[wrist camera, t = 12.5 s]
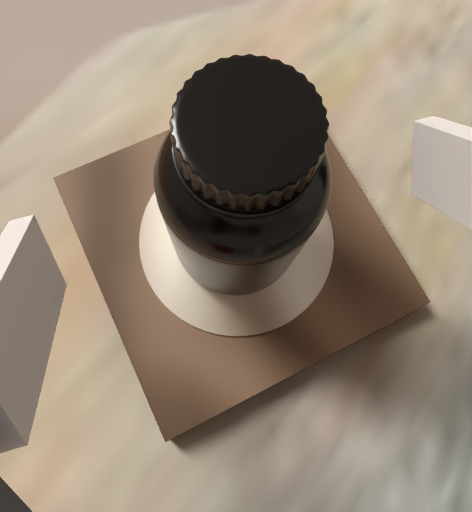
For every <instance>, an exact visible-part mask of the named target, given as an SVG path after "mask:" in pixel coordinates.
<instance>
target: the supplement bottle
mask: <svg viewBox="0 0 472 512" xmlns="http://www.w3.org/2000/svg"><path fill="white" fill-rule="evenodd" d="M326 115H327V110H326V108H325V107H324V106H323V104H322V97H321V96H320V95H319V94H318V93H317V92H316V89H315V86H314V85H313V84H312V83H310V82H309V81H307V78H306V77H305V75H304V74H302V73H299V72H297V71H296V70H295V68H294V67H293V66H290V65H286V64H284V63H282V62H281V61H280V60H276V59H270V58H268V57H266V56H254V55H251V54H248V55H244V56H239V55H233V56H231V57H229V58H220V59H218V60H217V61H216V62H213V63H208V64H206V65H205V66H204V68H203V69H201V70H198V71H196V72H195V73H194V74H193V76H192V78H190V79H188V80H187V81H185V83H184V86H183V89H182V90H180V91H179V92H178V93H177V100H176V102H175V103H174V104H173V106H172V117H171V119H170V130H169V131H168V132H167V134H166V136H165V137H164V139H163V141H162V143H161V145H160V147H159V150H158V153H157V156H156V161H155V165H154V190H155V195H156V199H157V203H158V206H159V209H160V212H161V215H162V218H163V220H164V223H165V225H166V228H167V231H168V233H169V236H170V238H171V241H172V244H173V246H174V249H175V251H176V254H177V256H178V258H179V260H180V262H181V264H182V266H183V267H184V269H185V270H186V272H187V273H188V274H189V275H190V276H191V277H192V278H193V279H194V280H195V281H196V282H198V283H199V284H200V285H202V286H204V287H205V288H207V289H209V290H211V291H214V292H217V293H220V294H225V295H234V296H237V295H247V294H252V293H255V292H258V291H261V290H263V289H265V288H267V287H268V286H270V285H271V284H273V283H274V282H276V281H277V280H278V279H279V278H280V277H281V276H282V275H283V274H284V273H285V271H286V270H287V269H288V268H289V266H290V265H291V263H292V262H293V261H294V259H295V258H296V256H297V255H298V254H299V252H300V251H301V249H302V248H303V247H304V245H305V244H306V242H307V241H308V240H309V238H310V237H311V235H312V234H313V233H314V231H315V230H316V228H317V227H318V225H319V223H320V222H321V220H322V218H323V216H324V213H325V211H326V209H327V206H328V203H329V200H330V195H331V187H332V173H331V166H330V161H329V157H328V154H327V151H326V149H325V147H326V145H327V142H328V133H327V131H328V128H329V122H328V120H327V118H326Z"/></svg>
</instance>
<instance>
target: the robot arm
mask: <svg viewBox="0 0 472 512" xmlns="http://www.w3.org/2000/svg"><path fill="white" fill-rule="evenodd" d="M411 194H413V195H414V196H416V197H417V198H419V199H421V200H422V201H424V202H426V203H427V204H429V205H431V206H432V207H434V208H435V209H437V210H439V211H440V212H442V213H444V214H445V215H447V216H449V217H450V218H452V219H454V220H455V221H457V222H458V223H460V224H462V225H463V226H465V227H467V228H468V229H470V230H472V128H471V127H468V126H465V125H462V124H458V123H455V122H452V121H449V120H445V119H442V118H439V117H436V116H431V117H427V118H423V119H419V120H415V121H413V150H412V180H411ZM65 289H66V283H65V280H64V278H63V276H62V274H61V272H60V270H59V268H58V265H57V263H56V261H55V259H54V257H53V255H52V252H51V250H50V248H49V246H48V244H47V242H46V240H45V237H44V235H43V233H42V231H41V229H40V227H39V224H38V222H37V220H36V218H35V216H34V215H30V216H26V217H22V218H18V219H14V220H10V221H9V222H8V224H7V226H6V227H5V229H4V231H3V232H2V234H1V236H0V453H2V452H6V451H9V450H12V449H16V448H19V447H22V446H26V445H28V441H29V437H30V433H31V428H32V424H33V420H34V416H35V412H36V408H37V404H38V400H39V396H40V392H41V387H42V383H43V379H44V375H45V371H46V367H47V363H48V359H49V355H50V350H51V346H52V342H53V338H54V334H55V330H56V326H57V322H58V318H59V314H60V309H61V305H62V301H63V297H64V293H65ZM0 512H32V511H31V510H30V509H29V508H28V507H27V505H26V504H25V503H24V502H23V501H22V500H21V499H20V498H19V497H18V496H17V495H16V493H15V492H14V491H13V490H12V489H11V488H10V487H9V486H8V485H7V484H6V483H5V482H4V480H3V479H2V478H1V477H0Z"/></svg>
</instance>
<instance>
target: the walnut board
mask: <svg viewBox="0 0 472 512" xmlns="http://www.w3.org/2000/svg"><path fill="white" fill-rule="evenodd" d="M168 131H169V130H167V131H165V132H163V133H160V134H158V135H155V136H153V137H151V138H148V139H146V140H143V141H141V142H138V143H136V144H134V145H131V146H129V147H126V148H124V149H122V150H119V151H117V152H114V153H112V154H109V155H107V156H105V157H102V158H100V159H97V160H95V161H93V162H90V163H88V164H85V165H83V166H81V167H78V168H76V169H73V170H71V171H68V172H66V173H64V174H61V175H59V176H56V177H54V178H53V179H54V181H55V183H56V186H57V188H58V190H59V193H60V195H61V197H62V200H63V202H64V204H65V207H66V209H67V212H68V214H69V216H70V219H71V221H72V223H73V226H74V228H75V230H76V233H77V235H78V237H79V240H80V242H81V245H82V247H83V249H84V252H85V254H86V256H87V259H88V261H89V263H90V266H91V268H92V271H93V273H94V275H95V278H96V280H97V282H98V285H99V287H100V289H101V292H102V294H103V296H104V299H105V301H106V304H107V306H108V308H109V311H110V313H111V315H112V318H113V320H114V322H115V325H116V327H117V329H118V332H119V334H120V337H121V339H122V341H123V344H124V346H125V348H126V351H127V353H128V355H129V358H130V360H131V363H132V365H133V367H134V370H135V372H136V374H137V377H138V379H139V381H140V384H141V386H142V388H143V391H144V393H145V396H146V398H147V400H148V403H149V405H150V407H151V410H152V412H153V414H154V417H155V419H156V421H157V424H158V426H159V429H160V431H161V433H162V436H163V438H164V440H165V442H167V441H169V440H170V439H172V438H174V437H176V436H178V435H180V434H182V433H184V432H186V431H188V430H189V429H191V428H193V427H195V426H197V425H199V424H201V423H203V422H205V421H206V420H208V419H210V418H212V417H214V416H216V415H218V414H220V413H222V412H224V411H225V410H227V409H229V408H231V407H233V406H235V405H237V404H239V403H241V402H242V401H244V400H246V399H248V398H250V397H252V396H254V395H256V394H258V393H259V392H261V391H263V390H265V389H267V388H269V387H271V386H273V385H275V384H277V383H278V382H280V381H282V380H284V379H286V378H288V377H290V376H292V375H294V374H295V373H297V372H299V371H301V370H303V369H305V368H307V367H309V366H311V365H312V364H314V363H316V362H318V361H320V360H322V359H324V358H326V357H328V356H330V355H331V354H333V353H335V352H337V351H339V350H341V349H343V348H345V347H347V346H348V345H350V344H352V343H354V342H356V341H358V340H360V339H362V338H364V337H365V336H367V335H369V334H371V333H373V332H375V331H377V330H379V329H381V328H383V327H384V326H386V325H388V324H390V323H392V322H394V321H396V320H398V319H400V318H401V317H403V316H405V315H407V314H409V313H411V312H413V311H415V310H417V309H418V308H420V307H422V306H424V305H426V304H428V303H430V301H429V299H428V297H427V296H426V294H425V292H424V291H423V289H422V288H421V286H420V284H419V283H418V281H417V279H416V278H415V276H414V275H413V273H412V271H411V270H410V268H409V266H408V265H407V263H406V261H405V260H404V258H403V257H402V255H401V253H400V252H399V250H398V248H397V247H396V245H395V243H394V242H393V240H392V239H391V237H390V235H389V234H388V232H387V230H386V229H385V227H384V226H383V224H382V222H381V221H380V219H379V217H378V216H377V214H376V212H375V211H374V209H373V208H372V206H371V204H370V203H369V201H368V199H367V198H366V196H365V194H364V193H363V191H362V190H361V188H360V186H359V185H358V183H357V181H356V180H355V178H354V177H353V175H352V173H351V172H350V170H349V168H348V167H347V165H346V163H345V162H344V160H343V159H342V157H341V155H340V154H339V152H338V150H337V149H336V147H335V146H334V144H333V142H332V141H331V139H330V137H329V136H328V142H327V145H326V147H325V149H326V151H327V154H328V157H329V161H330V166H331V173H332V187H331V195H330V200H329V203H328V206H327V209H326V211H325V213H324V216H323V218H322V220H321V222H320V223H319V225H318V227H317V228H316V230H315V231H314V233H313V234H312V235H311V237H310V238H309V240H308V241H307V242H306V244H305V245H304V247H303V248H302V249H301V251H300V252H299V254H298V255H297V256H296V258H295V259H294V261H293V262H292V263H291V265H290V266H289V268H288V269H287V270H286V271H285V273H284V274H283V275H282V276H281V277H280V278H279V279H278V280H277V281H276V282H274V283H273V284H271V285H270V286H268V287H267V288H265V289H263V290H261V291H258V292H255V293H252V294H247V295H237V296H234V295H225V294H220V293H217V292H214V291H211V290H209V289H207V288H205V287H204V286H202V285H200V284H199V283H198V282H196V281H195V280H194V279H193V278H192V277H191V276H190V275H189V274H188V273H187V272H186V270H185V269H184V267H183V266H182V264H181V262H180V260H179V258H178V256H177V254H176V251H175V249H174V246H173V244H172V241H171V238H170V236H169V233H168V231H167V228H166V225H165V223H164V220H163V218H162V215H161V212H160V209H159V206H158V203H157V199H156V195H155V190H154V165H155V161H156V156H157V153H158V150H159V147H160V145H161V143H162V141H163V139H164V137H165V136H166V134H167V132H168Z"/></svg>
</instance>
